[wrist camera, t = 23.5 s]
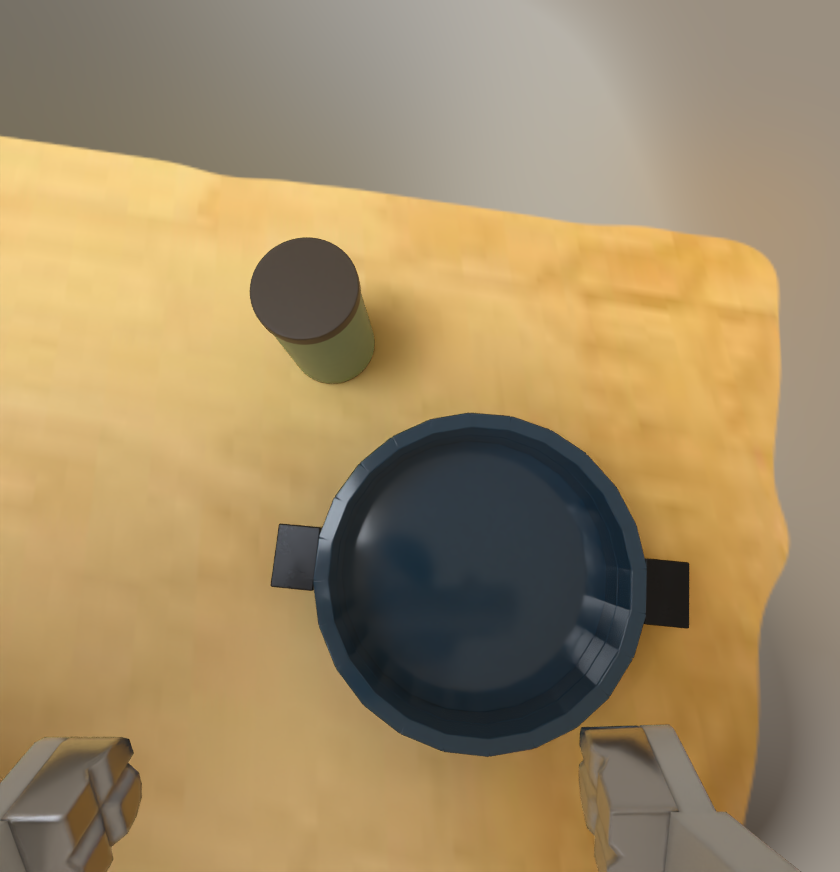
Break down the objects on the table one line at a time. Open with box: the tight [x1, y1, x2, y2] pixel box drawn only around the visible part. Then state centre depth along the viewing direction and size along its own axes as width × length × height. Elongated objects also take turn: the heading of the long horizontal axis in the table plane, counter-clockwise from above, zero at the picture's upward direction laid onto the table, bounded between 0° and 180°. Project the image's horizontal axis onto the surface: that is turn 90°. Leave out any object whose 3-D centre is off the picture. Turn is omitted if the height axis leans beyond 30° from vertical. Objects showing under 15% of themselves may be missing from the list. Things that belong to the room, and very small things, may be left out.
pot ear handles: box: [271, 524, 689, 628], centre depth 29 cm, size 21×3×1 cm, turn 85°
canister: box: [250, 238, 375, 383], centre depth 31 cm, size 5×5×8 cm
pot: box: [313, 413, 647, 757], centre depth 30 cm, size 17×17×4 cm
